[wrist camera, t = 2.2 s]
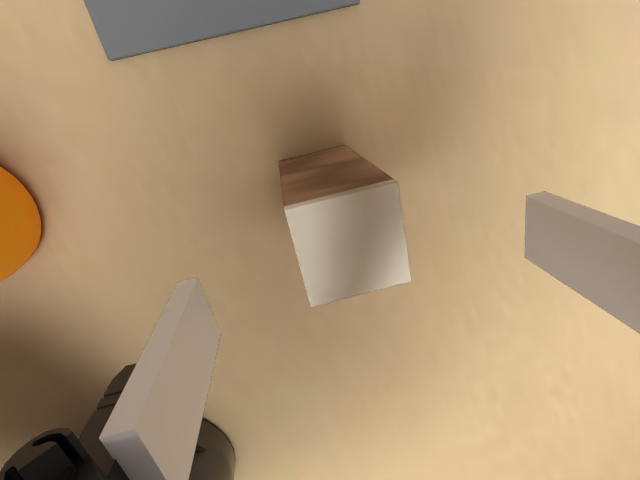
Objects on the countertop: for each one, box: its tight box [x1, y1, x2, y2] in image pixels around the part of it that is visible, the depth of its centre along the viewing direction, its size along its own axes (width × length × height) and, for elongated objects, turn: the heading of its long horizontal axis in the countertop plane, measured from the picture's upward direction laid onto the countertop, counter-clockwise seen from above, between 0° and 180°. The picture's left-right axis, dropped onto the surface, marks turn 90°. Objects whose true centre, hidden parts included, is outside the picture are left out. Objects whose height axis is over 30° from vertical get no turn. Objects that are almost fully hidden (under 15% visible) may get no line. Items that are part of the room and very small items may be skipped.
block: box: [279, 145, 411, 307], centre depth 21 cm, size 5×5×12 cm
